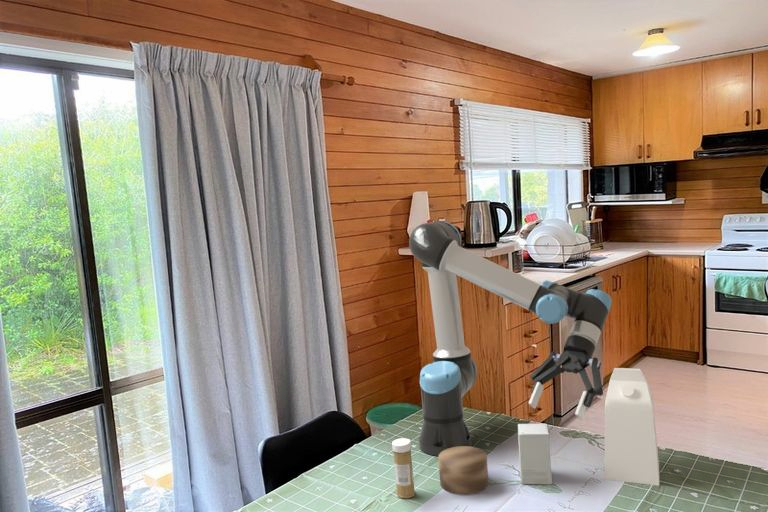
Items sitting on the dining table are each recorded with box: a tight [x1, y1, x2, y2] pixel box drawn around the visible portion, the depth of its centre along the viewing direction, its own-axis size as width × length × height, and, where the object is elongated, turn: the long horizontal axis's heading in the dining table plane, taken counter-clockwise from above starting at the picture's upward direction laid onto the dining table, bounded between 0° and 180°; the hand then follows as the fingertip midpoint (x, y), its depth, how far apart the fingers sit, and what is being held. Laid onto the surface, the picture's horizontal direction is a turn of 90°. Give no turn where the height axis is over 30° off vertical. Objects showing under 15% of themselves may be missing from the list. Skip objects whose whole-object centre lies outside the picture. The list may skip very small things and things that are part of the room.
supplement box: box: [517, 423, 553, 485], centre depth 143 cm, size 7×7×13 cm
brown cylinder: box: [437, 446, 490, 496], centre depth 144 cm, size 12×12×7 cm
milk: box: [604, 367, 660, 487], centre depth 142 cm, size 12×12×26 cm
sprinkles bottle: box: [391, 438, 416, 499], centre depth 140 cm, size 5×5×13 cm
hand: (554, 411), depth 148 cm, fingers open, 13 cm apart
